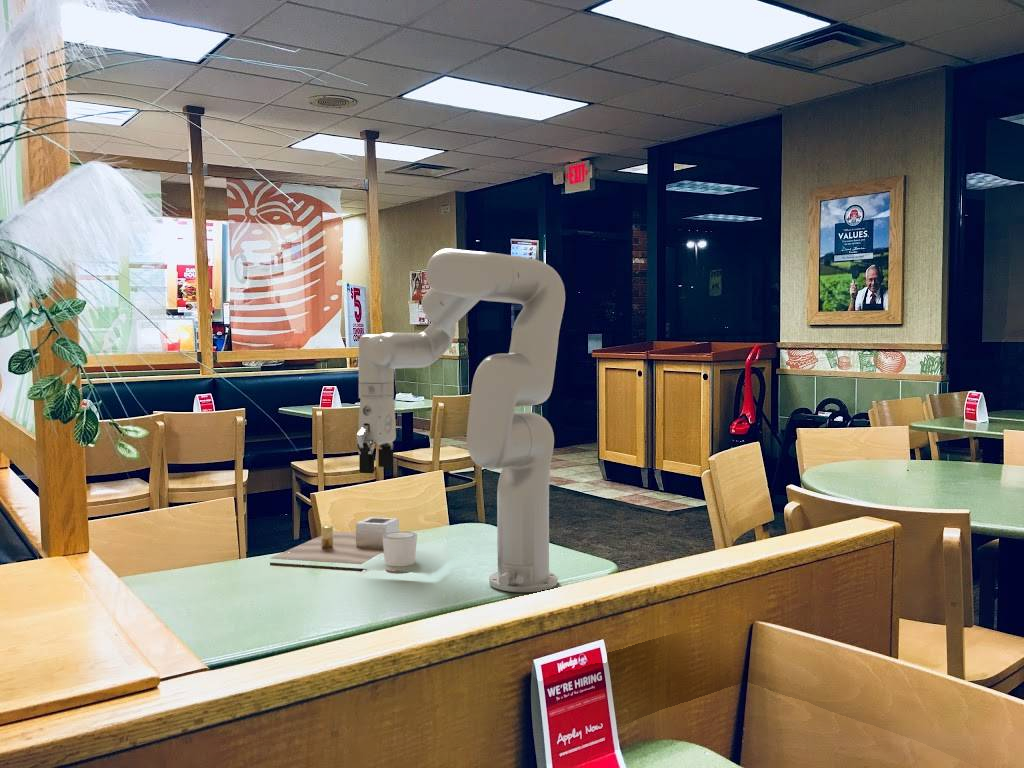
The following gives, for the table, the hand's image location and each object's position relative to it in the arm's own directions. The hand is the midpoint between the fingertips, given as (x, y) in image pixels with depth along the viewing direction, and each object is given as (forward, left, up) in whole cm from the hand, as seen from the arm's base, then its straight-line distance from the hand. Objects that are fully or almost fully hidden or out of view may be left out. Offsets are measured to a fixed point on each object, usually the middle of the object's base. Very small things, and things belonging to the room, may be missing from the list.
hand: (376, 469), depth 172 cm
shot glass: (-14, -11, -18) cm, 25 cm away
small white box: (0, 0, -16) cm, 16 cm away
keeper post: (-6, +9, -16) cm, 19 cm away
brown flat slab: (-4, +6, -18) cm, 19 cm away
